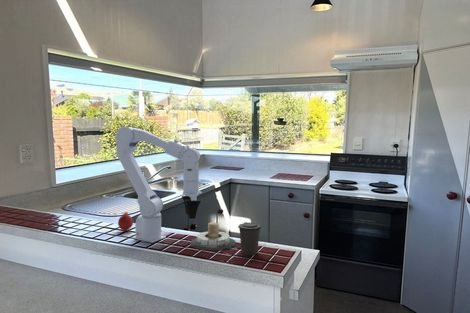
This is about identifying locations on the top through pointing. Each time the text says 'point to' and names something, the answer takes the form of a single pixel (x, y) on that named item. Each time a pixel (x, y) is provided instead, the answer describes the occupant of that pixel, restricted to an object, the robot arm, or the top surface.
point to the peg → (213, 230)
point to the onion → (125, 222)
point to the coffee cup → (249, 237)
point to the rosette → (213, 242)
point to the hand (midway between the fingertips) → (190, 216)
